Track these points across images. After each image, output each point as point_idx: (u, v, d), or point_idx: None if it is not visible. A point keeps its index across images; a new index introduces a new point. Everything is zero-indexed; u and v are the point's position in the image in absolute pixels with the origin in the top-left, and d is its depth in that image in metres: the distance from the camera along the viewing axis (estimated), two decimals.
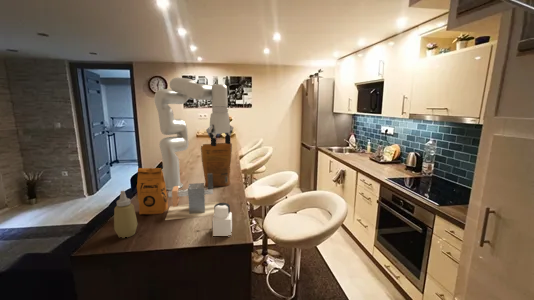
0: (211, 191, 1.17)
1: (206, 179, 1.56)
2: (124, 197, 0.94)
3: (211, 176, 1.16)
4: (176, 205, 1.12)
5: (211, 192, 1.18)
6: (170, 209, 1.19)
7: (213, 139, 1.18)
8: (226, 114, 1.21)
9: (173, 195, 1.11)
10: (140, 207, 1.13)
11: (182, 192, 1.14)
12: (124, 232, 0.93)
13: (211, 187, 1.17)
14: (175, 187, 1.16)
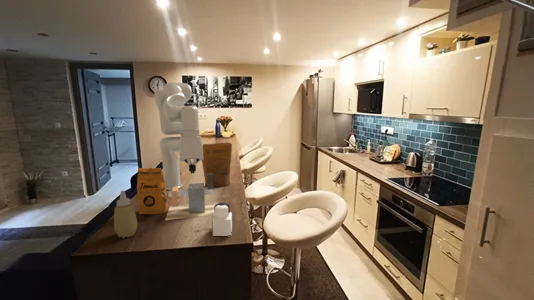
0: (211, 191, 1.17)
1: (206, 179, 1.56)
2: (124, 197, 0.94)
3: (211, 176, 1.16)
4: (176, 205, 1.12)
5: (211, 192, 1.18)
6: (170, 209, 1.19)
7: None
8: None
9: (173, 195, 1.11)
10: (140, 207, 1.13)
11: (182, 192, 1.14)
12: (124, 232, 0.93)
13: (211, 187, 1.17)
14: (175, 187, 1.16)
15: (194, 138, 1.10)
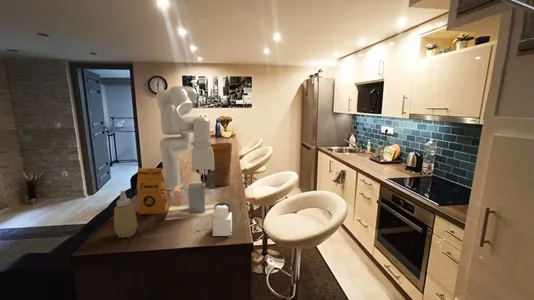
0: (213, 191, 1.18)
1: None
2: (124, 197, 0.94)
3: (213, 176, 1.16)
4: (178, 205, 1.12)
5: (213, 192, 1.18)
6: (170, 209, 1.19)
7: None
8: None
9: (175, 195, 1.11)
10: (140, 207, 1.13)
11: (184, 192, 1.14)
12: (124, 232, 0.93)
13: (213, 187, 1.17)
14: (177, 187, 1.16)
15: (206, 149, 1.12)
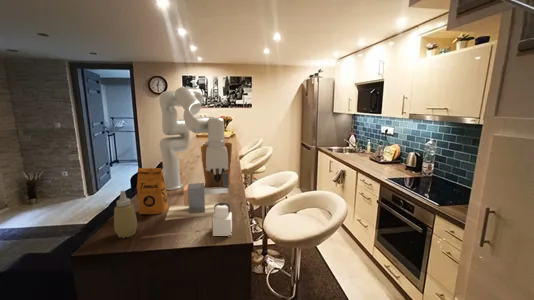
0: (226, 190, 1.19)
1: (206, 179, 1.56)
2: (124, 197, 0.94)
3: (227, 175, 1.18)
4: (187, 204, 1.13)
5: (226, 191, 1.19)
6: (170, 209, 1.19)
7: None
8: None
9: (184, 194, 1.12)
10: (140, 207, 1.13)
11: None
12: (124, 232, 0.93)
13: (226, 186, 1.19)
14: (186, 186, 1.17)
15: (220, 149, 1.14)
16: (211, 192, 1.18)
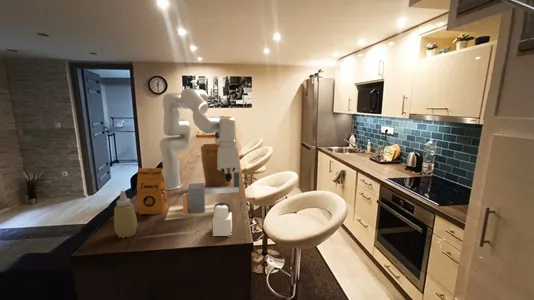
0: (237, 189, 1.20)
1: (206, 179, 1.56)
2: (124, 197, 0.94)
3: (237, 174, 1.19)
4: (186, 212, 1.14)
5: (237, 190, 1.21)
6: (170, 209, 1.19)
7: None
8: None
9: (184, 202, 1.13)
10: (140, 207, 1.13)
11: (210, 190, 1.17)
12: (124, 232, 0.93)
13: (237, 185, 1.20)
14: (185, 194, 1.18)
15: (231, 148, 1.15)
16: (222, 191, 1.19)
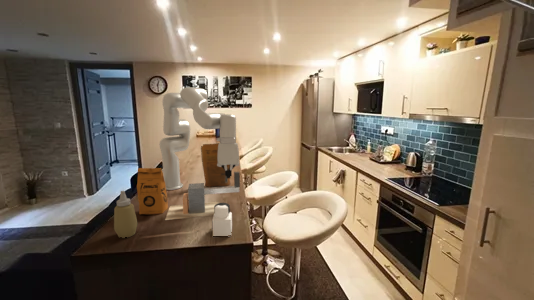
0: (238, 189, 1.21)
1: (206, 179, 1.56)
2: (124, 197, 0.94)
3: (238, 174, 1.19)
4: (186, 212, 1.14)
5: (238, 190, 1.21)
6: (170, 209, 1.19)
7: None
8: None
9: (184, 202, 1.13)
10: (140, 207, 1.13)
11: (210, 190, 1.17)
12: (124, 232, 0.93)
13: (238, 185, 1.20)
14: (185, 194, 1.18)
15: (232, 145, 1.15)
16: (223, 191, 1.19)
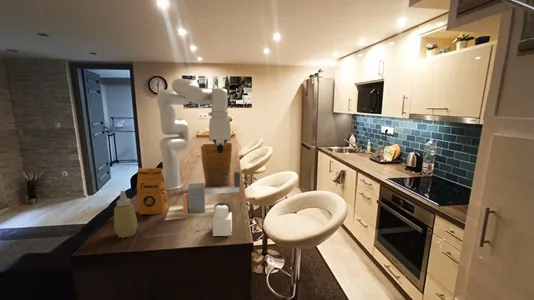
0: (238, 189, 1.21)
1: (206, 179, 1.56)
2: (124, 197, 0.94)
3: (238, 174, 1.19)
4: (186, 212, 1.14)
5: (238, 190, 1.21)
6: (170, 209, 1.19)
7: None
8: None
9: (184, 202, 1.13)
10: (140, 207, 1.13)
11: (210, 190, 1.17)
12: (124, 232, 0.93)
13: (238, 185, 1.20)
14: (185, 194, 1.18)
15: (223, 119, 1.15)
16: (223, 191, 1.19)
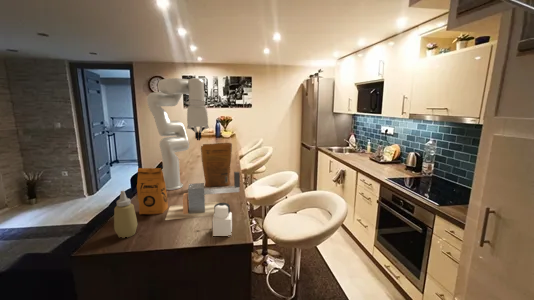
0: (238, 189, 1.21)
1: (206, 179, 1.56)
2: (124, 197, 0.94)
3: (238, 174, 1.19)
4: (186, 212, 1.14)
5: (238, 190, 1.21)
6: (170, 209, 1.19)
7: None
8: None
9: (184, 202, 1.13)
10: (140, 207, 1.13)
11: (210, 190, 1.17)
12: (124, 232, 0.93)
13: (238, 185, 1.20)
14: (185, 194, 1.18)
15: (200, 108, 1.22)
16: (223, 191, 1.19)
